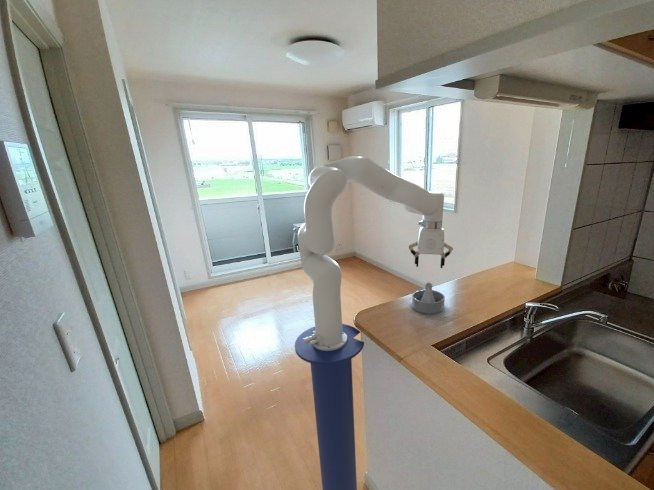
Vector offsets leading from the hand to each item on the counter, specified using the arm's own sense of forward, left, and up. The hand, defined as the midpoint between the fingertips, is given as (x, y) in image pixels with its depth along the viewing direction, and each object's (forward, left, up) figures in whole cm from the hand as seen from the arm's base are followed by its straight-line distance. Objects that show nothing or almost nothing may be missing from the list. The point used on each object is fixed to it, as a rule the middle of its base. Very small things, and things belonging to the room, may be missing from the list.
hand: (429, 266), depth 126 cm
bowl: (0, 0, -18) cm, 18 cm away
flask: (0, 0, -18) cm, 18 cm away
